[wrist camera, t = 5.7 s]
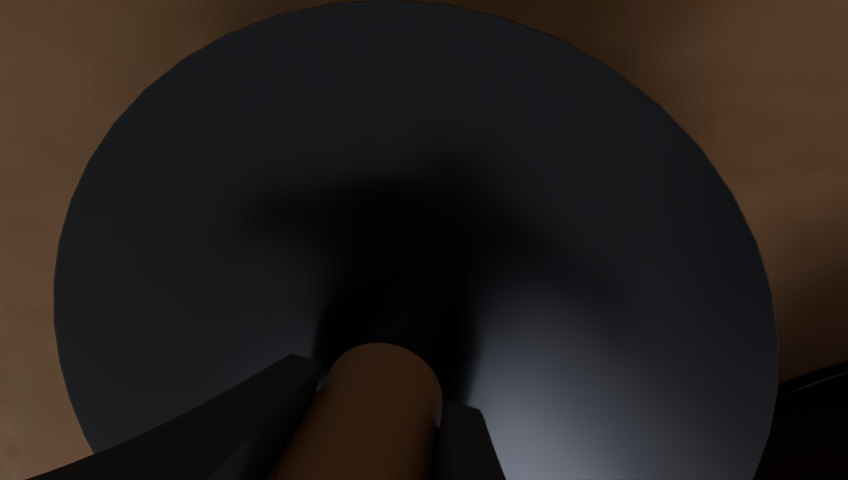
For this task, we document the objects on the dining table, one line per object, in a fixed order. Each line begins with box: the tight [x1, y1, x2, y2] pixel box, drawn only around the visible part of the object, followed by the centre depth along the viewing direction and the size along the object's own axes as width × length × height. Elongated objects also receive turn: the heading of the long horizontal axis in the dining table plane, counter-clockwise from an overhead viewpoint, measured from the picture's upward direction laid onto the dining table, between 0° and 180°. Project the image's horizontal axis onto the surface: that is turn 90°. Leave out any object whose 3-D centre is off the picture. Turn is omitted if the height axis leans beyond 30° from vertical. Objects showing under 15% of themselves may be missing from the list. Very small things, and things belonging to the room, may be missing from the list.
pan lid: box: [54, 0, 779, 480], centre depth 9 cm, size 15×15×5 cm
